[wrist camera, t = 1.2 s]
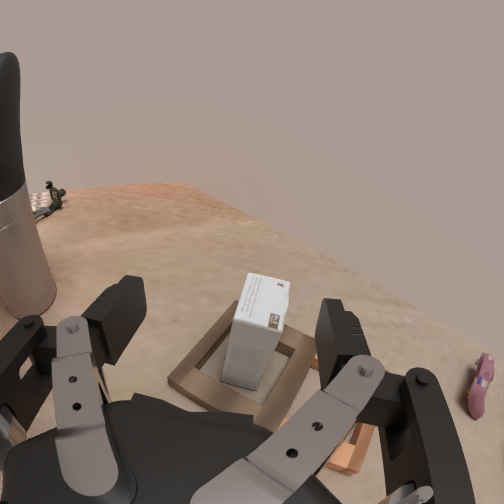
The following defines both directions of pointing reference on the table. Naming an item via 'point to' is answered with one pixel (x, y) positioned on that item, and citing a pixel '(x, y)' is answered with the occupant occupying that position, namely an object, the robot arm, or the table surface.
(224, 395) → the brown flat frame
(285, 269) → the table surface
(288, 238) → the table surface
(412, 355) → the table surface
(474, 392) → the video game controller
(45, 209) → the zombie figurine
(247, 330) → the skincare box
